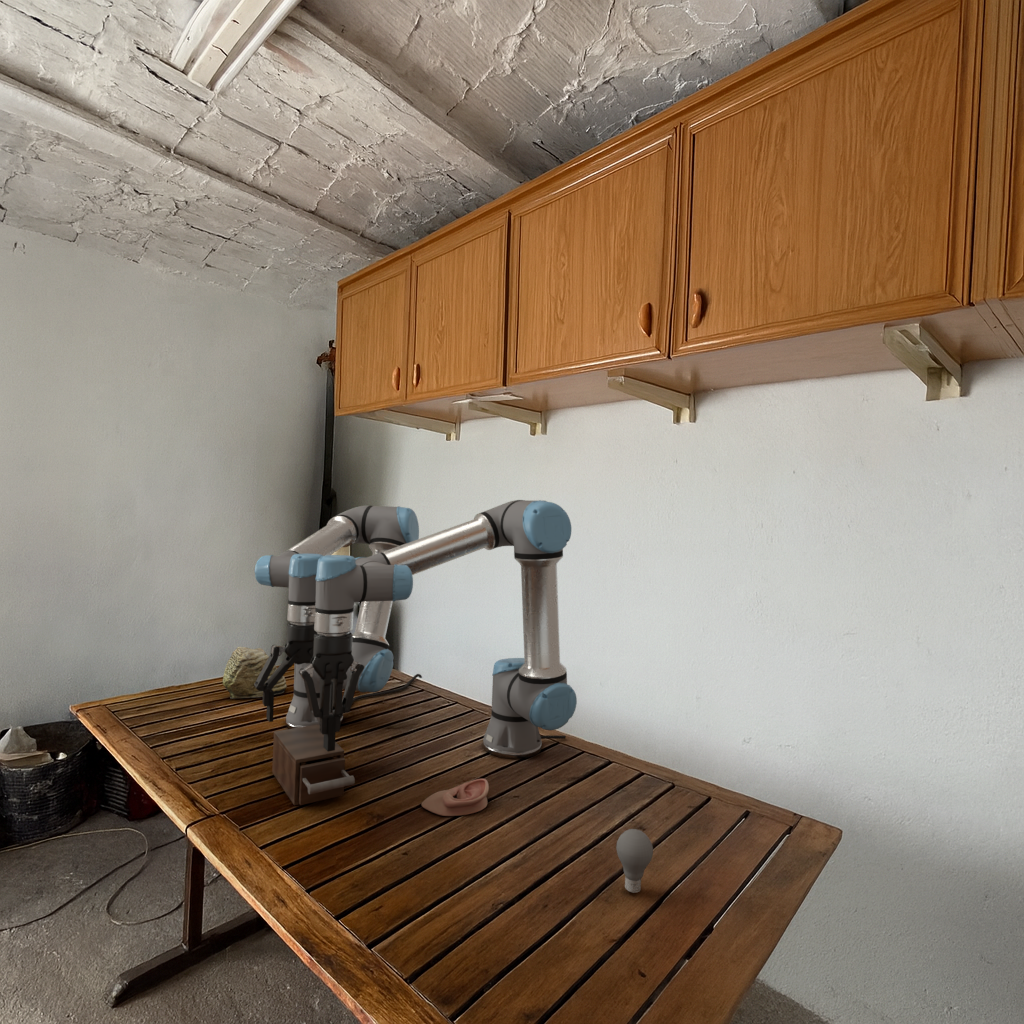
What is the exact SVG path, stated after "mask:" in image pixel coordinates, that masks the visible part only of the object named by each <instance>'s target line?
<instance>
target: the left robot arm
mask: <svg viewBox="0 0 1024 1024" xmlns="http://www.w3.org/2000/svg"><path fill="white" fill-rule="evenodd" d="M418 539H420V525H419V520H418V517H417V514H416V513H415V511H414V510H413V508H411V507H403V506H400V505H399V506H389V505H387V506H385V505H368V504H367V505H359V506H356V507H352V508H349V509H347V510H345V511H343V512H340V513H338V514H336V515H335V516H332V518H330V519H329V520H328V521H327V523H326V525H325V526H323V527H322V528H320V529H319V530H317V531H315V532H314V533H312V534H311V535H309V536H307V537H306V538H304V539H303V540H301V541H299V542H297V543H296V544H295V545H292V546H291V547H290V548H288V549H287V550H285V551H283V552H281V553H280V554H279V555H274V554H270V555H262V556H261V557H259V558H258V560H257V561H256V563H255V567H254V577H255V580H256V582H257V583H258V584H259V585H262V586H267V587H272V588H287V589H288V599H287V617H286V620H287V622H288V623H287V624H286V641H285V644H284V645H277V644H272V645H271V647H270V652H269V655H268V656H269V658H268V659H267V661H266V663H265V665H264V667H263V669H262V671H261V673H260V674H259V676H258V678H257V680H256V682H255V684H254V686H255V688H256V689H257V690H261V691H263V697H262V701H261V702H262V705H263V706H264V707H266V720H267V721H268V722H269V723H272V722H274V707H275V695H274V691H273V690H272V688H273V687H274V686H275V685H276V683H277V682H278V681H279V680H280V679H281V677H282V676H284V675H285V674H286V673H287V671H288V670H289V669H290V668H292V667H293V666H294V672H293V695H292V696H293V697H292V699H291V702H290V704H289V708H288V711H287V713H286V715H285V726H286V728H287V729H292V728H299V727H305V726H311V725H317V724H318V725H319V726H320V717H315V716H314V715H313V714H312V713H311V712H310V707H309V702H308V698H307V693H306V688H305V684H304V680H303V678H302V677H301V675H300V674H299V670H300V669H301V668H303V669H304V668H306V667H307V666H308V665H310V664H311V663H310V662H311V659H312V657H313V648H314V635H315V634H316V633H317V632H316V631H315V630H314V622H315V604H316V580H315V578H316V573H317V564H318V560H319V559H320V557H322V556H326V555H334V553H336V552H337V551H339V550H340V549H342V548H348V547H351V546H352V545H355V544H366V545H368V548H369V549H370V551H371V552H372V554H371V556H372V555H375V554H378V553H382V552H384V551H387V550H389V549H392V548H395V547H398V546H401V545H403V544H406V543H409V542H412V541H415V540H418ZM392 606H393V601H369V602H360V606H359V607H360V608H359V612H358V616H357V620H356V623H355V624H356V625H355V628H354V632H353V633H352V635H353V639H352V655H353V657H354V661H356V662H359V663H361V664H362V665H363V666H364V669H363V671H362V673H361V674H360V676H359V679H358V682H357V686H356V690H355V692H360V693H366V694H361V695H357V696H354V697H353V701H352V704H353V703H354V702H355V701H358V700H360V699H365V698H373V697H380V696H384V695H390V694H394V693H399V692H400V691H404V690H406V689H407V688H408V687H409V686H410V684H412V683H413V682H414V681H415V680H416V679H417V678H419V679H422V678H423V676H422V674H421V673H416V674H415V675H414V676H413V677H411V679H410V680H409V681H407V683H406V684H405V685H403V686H400V687H399V688H394V689H390V690H384V691H381V690H382V689H383V688H384V687H385V686H386V685H387V684H388V682H389V680H390V677H391V675H392V672H393V668H394V654H393V651H392V650H390V644H389V642H388V640H387V639H386V636H387V631H388V626H389V621H390V617H391V611H392V608H393V607H392ZM283 653H285V654H286V656H285V657H284V658H283V660H282V662H281V663H280V664H279V665H278V667H276V668H277V669H276V671H275V672H274V673H273V674H272V675H271V677H270V678H269V679H268V680H267V678H268V676H269V675H270V673H271V671H272V669H273V667H274V665H276V663H277V662H278V659H279V657H280V656H282V654H283ZM350 667H351V666H350ZM350 671H351V670H350V668H349V669H348V670H347V672H346V673H345V675H344V682H343V690H345V688H346V684H347V680H348V676H349V673H350ZM311 678H312V679H313V682H314V687H315V691H316V696H317V701H318V705H319V706H320V676H319V675H318V674H317V673H316V671H315V670H313V677H311ZM266 680H267V681H266ZM265 682H266V683H265ZM332 694H333V680H332V679H331V685H330V703H329V714H332V715H333V713H332ZM343 722H344V715H343V716H342V717H341V720H340V725H342V723H343Z"/></svg>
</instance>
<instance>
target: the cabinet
mask: <svg viewBox="0 0 1024 1024" xmlns="http://www.w3.org/2000/svg"><path fill="white" fill-rule="evenodd" d="M319 727H320V726H319V725H318V724H317V725H311V726H305V727H299V728H292V729H289V728H287V729H282V730H280V729H279V730H275V731H273V742H272V743H273V745H272V770H271V771H272V775H273V776H274V777H275V779H276V781H277V782H278V783H279V785H280V786H281V788H282V790H283V791H284V793H285V794H286V796H287V798H288V799H289V800H290V802H291V803H292V804H293V805H294V806H298V805H300V804H299V769H300V763H302V762H307V761H313V760H318V759H323V758H328V757H333V756H337V759H338V758H344V759H345V750H344V749H343V747H341V746H340V745H339V744H338V743H337V742H336V741H335V750H333V751H327V750H326V749H325V748H324V747H323V742H324V734H323V735H322V734H321V733H320V730H319Z"/></svg>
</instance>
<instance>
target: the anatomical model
mask: <svg viewBox="0 0 1024 1024" xmlns="http://www.w3.org/2000/svg"><path fill="white" fill-rule="evenodd" d="M489 787H490V785H489V782H488V780H487V779H486V778H477V779H473V780H469V781H467V782H464V783H461V784H459V785H456V786H454V787H452V788H449V789H445V790H439V791H437V792H434V793H432V794H430V795H429V796H427V797H426V798H425V799H424V800H423V801H422V802H421V807H422V808H423V809H425V810H427V811H429V812H431V813H432V814H436V815H438V816H443V817H455V816H456V817H457V816H466V815H470V814H474V813H477V812H481V811H482V810H484V809H485V808H486V807H487V806H488V797H487V795H488V794H489V791H490V790H489Z"/></svg>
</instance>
